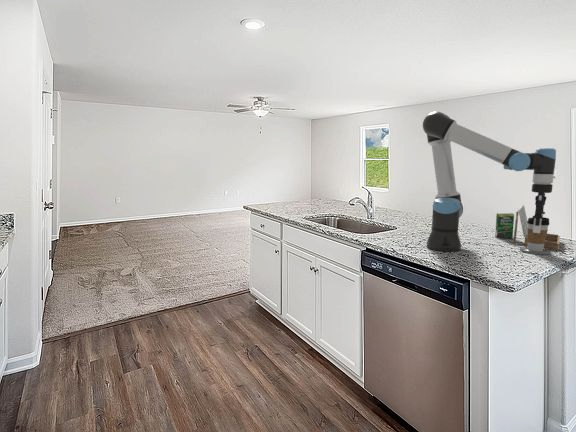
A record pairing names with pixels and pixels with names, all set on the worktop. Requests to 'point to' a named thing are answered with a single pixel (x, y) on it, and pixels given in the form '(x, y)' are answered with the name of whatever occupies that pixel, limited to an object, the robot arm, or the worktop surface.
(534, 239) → the coffee cup
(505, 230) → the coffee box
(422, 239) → the worktop surface
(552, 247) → the frame
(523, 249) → the disc
